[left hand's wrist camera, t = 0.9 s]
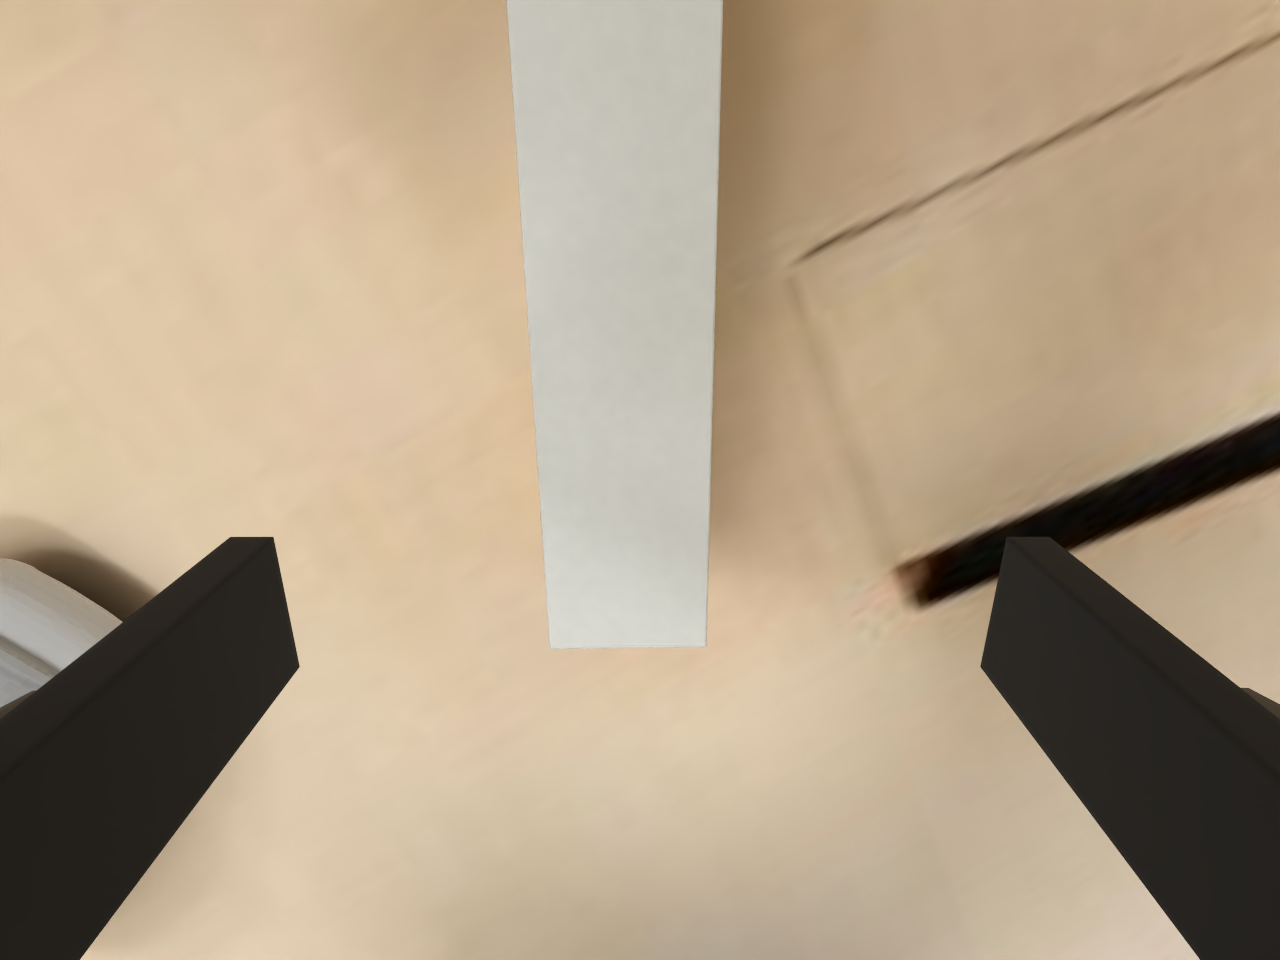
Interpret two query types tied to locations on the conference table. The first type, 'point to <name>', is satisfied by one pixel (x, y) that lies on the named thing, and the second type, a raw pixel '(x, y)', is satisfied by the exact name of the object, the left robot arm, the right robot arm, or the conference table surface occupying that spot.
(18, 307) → the conference table surface
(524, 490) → the conference table surface
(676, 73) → the plank
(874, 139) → the conference table surface
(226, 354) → the conference table surface
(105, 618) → the projector
